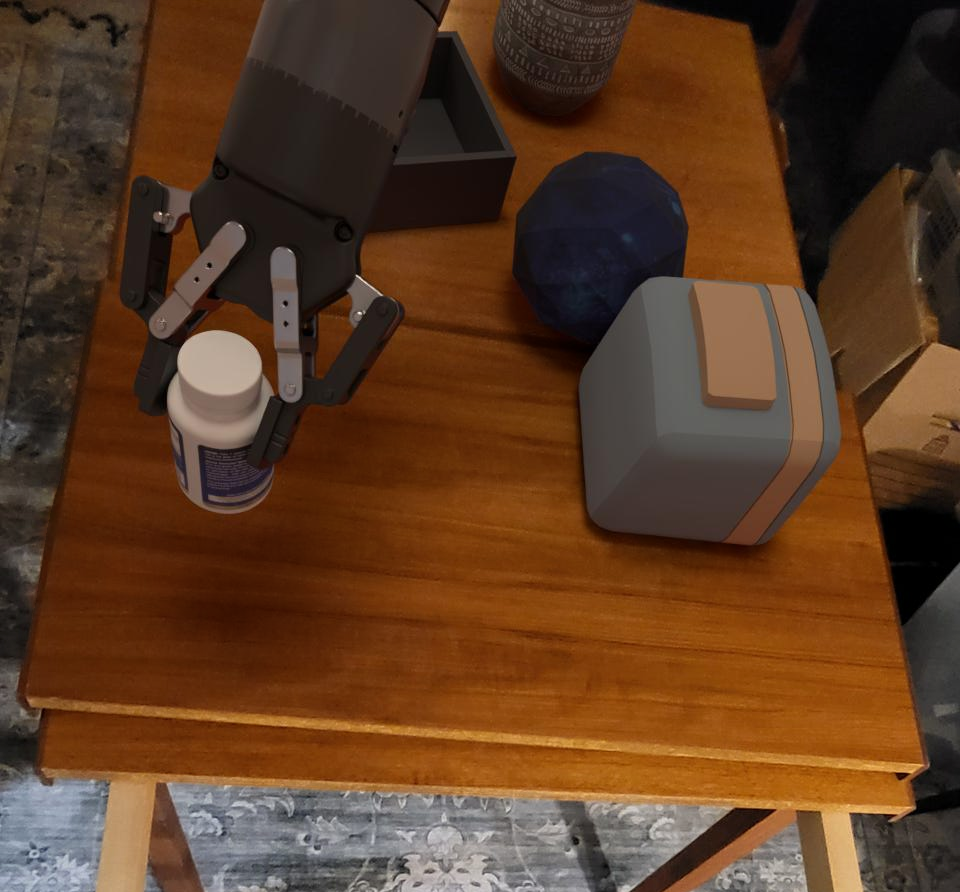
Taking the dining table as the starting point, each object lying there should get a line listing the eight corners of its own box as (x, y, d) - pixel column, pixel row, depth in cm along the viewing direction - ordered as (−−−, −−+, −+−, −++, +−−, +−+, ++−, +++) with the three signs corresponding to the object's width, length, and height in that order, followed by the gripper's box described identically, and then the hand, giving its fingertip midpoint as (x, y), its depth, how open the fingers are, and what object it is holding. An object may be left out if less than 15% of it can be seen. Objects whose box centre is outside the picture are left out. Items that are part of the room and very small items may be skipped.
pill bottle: (292, 469, 56) (299, 356, 47) (238, 533, 53) (235, 427, 44) (214, 421, 56) (206, 299, 47) (156, 483, 53) (137, 367, 45)
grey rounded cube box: (769, 557, 79) (883, 442, 65) (582, 538, 76) (659, 413, 61) (744, 398, 85) (843, 262, 71) (571, 374, 82) (638, 226, 68)
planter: (459, 71, 94) (488, -68, 83) (536, 30, 99) (573, -107, 88) (549, 147, 93) (591, 16, 81) (622, 101, 98) (672, -29, 86)
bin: (335, 235, 82) (342, 168, 76) (285, 107, 87) (288, 34, 81) (498, 220, 87) (517, 156, 81) (443, 99, 92) (457, 30, 86)
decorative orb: (731, 313, 82) (720, 119, 72) (614, 387, 76) (585, 185, 66) (609, 297, 91) (586, 124, 82) (496, 361, 85) (457, 182, 76)
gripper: (146, -8, 39) (36, 378, 45) (458, 150, 40) (310, 513, 45) (216, 48, 46) (113, 376, 52) (480, 182, 47) (350, 492, 52)
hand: (205, 438), depth 49 cm, fingers closed on pill bottle, 5 cm apart
